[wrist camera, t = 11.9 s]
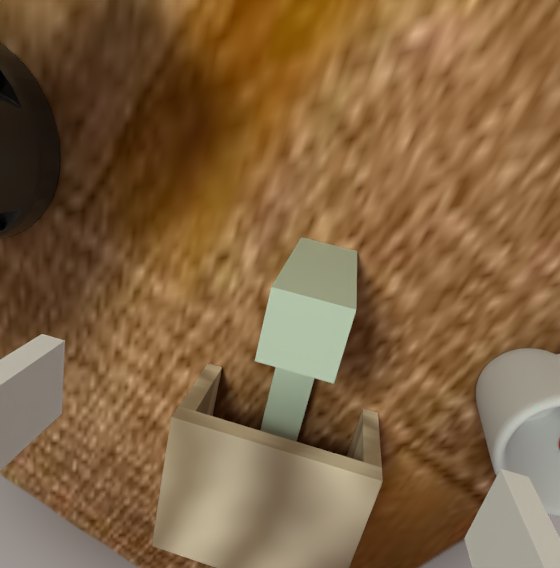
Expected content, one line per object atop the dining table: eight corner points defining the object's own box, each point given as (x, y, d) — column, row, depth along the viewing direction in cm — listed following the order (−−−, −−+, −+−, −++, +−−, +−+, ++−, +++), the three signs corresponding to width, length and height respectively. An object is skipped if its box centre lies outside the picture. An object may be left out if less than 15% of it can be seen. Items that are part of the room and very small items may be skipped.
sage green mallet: (246, 466, 37) (203, 590, 27) (301, 237, 30) (271, 286, 20) (290, 479, 37) (264, 611, 26) (357, 251, 29) (356, 309, 19)
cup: (524, 278, 28) (584, 328, 21) (637, 328, 28) (739, 397, 20) (441, 402, 32) (466, 481, 24) (539, 447, 32) (595, 541, 24)
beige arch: (187, 475, 38) (151, 545, 32) (208, 363, 34) (171, 416, 28) (338, 523, 37) (333, 607, 30) (377, 412, 33) (382, 481, 26)
